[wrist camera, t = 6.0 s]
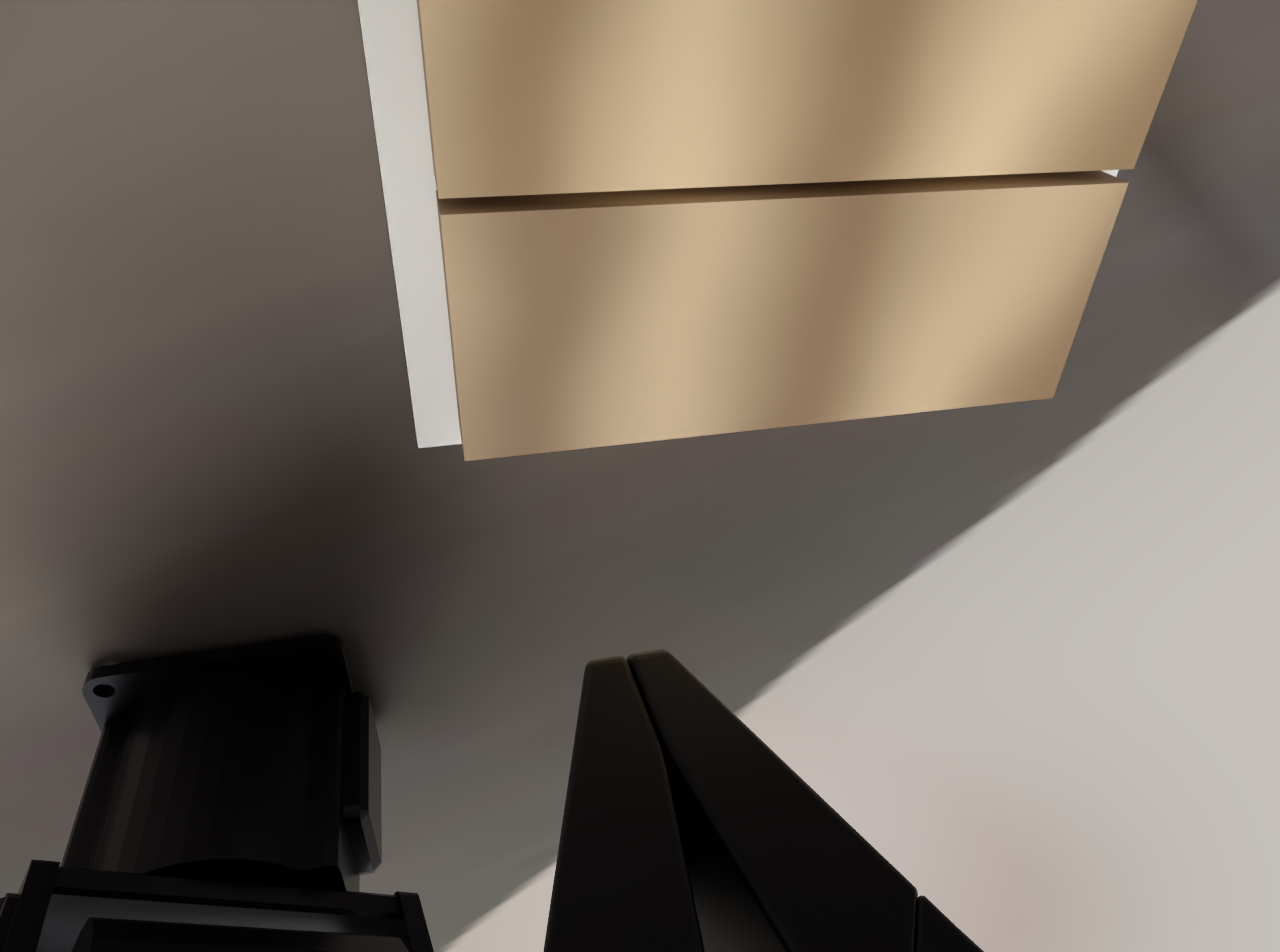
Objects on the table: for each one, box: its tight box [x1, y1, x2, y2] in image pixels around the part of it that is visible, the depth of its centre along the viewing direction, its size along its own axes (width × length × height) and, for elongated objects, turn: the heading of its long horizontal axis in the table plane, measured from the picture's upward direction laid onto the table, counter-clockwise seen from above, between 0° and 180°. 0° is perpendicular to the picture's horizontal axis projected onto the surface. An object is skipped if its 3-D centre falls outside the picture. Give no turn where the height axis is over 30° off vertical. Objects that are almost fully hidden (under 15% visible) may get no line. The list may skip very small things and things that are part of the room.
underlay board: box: [358, 0, 1118, 448], centre depth 19 cm, size 17×14×1 cm
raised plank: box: [417, 0, 1198, 199], centre depth 16 cm, size 15×6×2 cm, turn 87°
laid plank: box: [436, 170, 1128, 461], centre depth 20 cm, size 15×6×2 cm, turn 88°
